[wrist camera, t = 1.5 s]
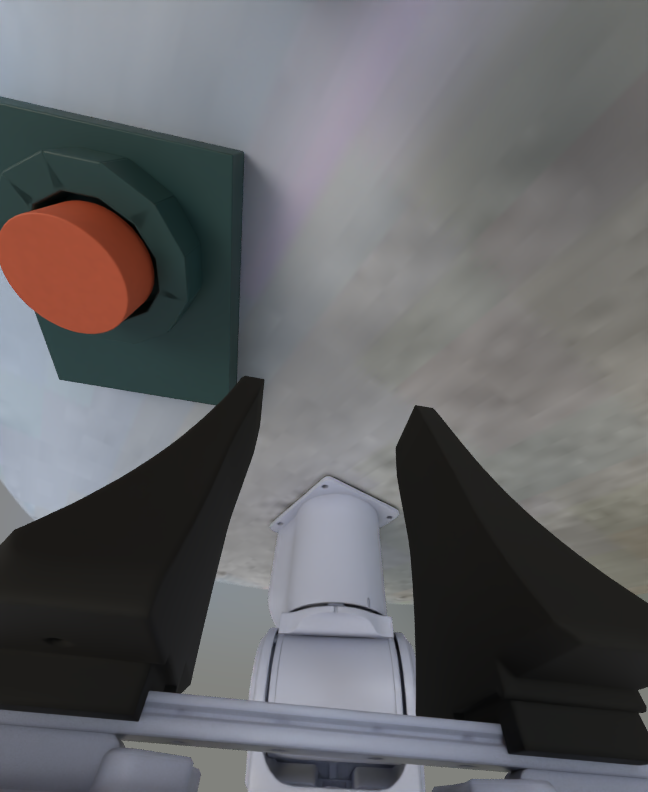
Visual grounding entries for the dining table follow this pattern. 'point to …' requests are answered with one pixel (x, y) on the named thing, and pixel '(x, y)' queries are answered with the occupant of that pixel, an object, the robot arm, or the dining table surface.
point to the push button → (77, 265)
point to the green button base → (162, 235)
